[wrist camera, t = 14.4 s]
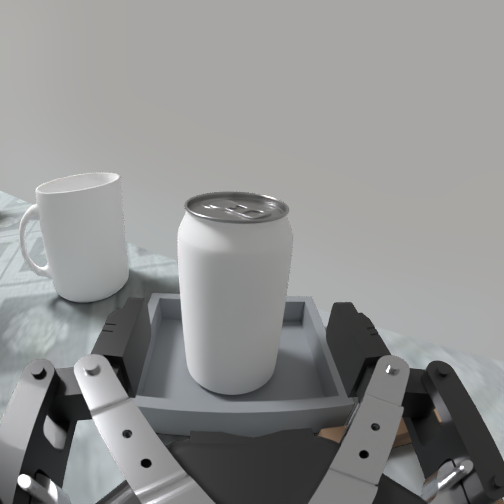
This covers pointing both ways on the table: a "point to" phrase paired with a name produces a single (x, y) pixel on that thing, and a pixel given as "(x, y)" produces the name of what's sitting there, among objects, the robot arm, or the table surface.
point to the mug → (81, 235)
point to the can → (233, 287)
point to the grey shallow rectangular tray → (249, 404)
